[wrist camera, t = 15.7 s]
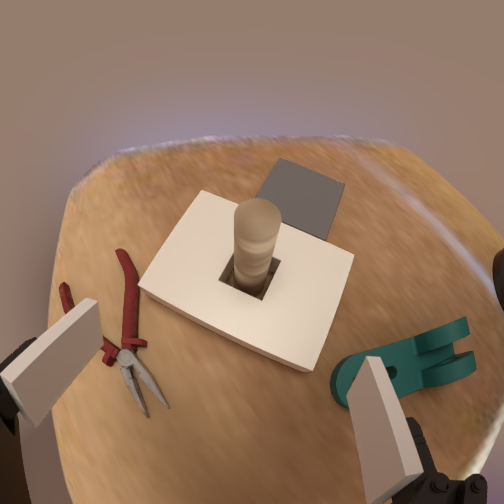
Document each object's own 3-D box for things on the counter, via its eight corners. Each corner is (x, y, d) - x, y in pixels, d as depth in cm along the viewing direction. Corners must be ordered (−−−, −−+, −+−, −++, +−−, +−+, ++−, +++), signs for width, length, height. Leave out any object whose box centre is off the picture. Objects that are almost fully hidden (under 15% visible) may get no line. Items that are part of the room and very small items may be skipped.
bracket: (438, 327, 31) (475, 312, 24) (447, 372, 28) (485, 364, 21) (325, 361, 29) (351, 353, 22) (334, 415, 26) (363, 423, 19)
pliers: (122, 430, 24) (114, 433, 22) (62, 290, 31) (53, 283, 29) (203, 390, 27) (201, 390, 25) (129, 251, 34) (122, 241, 32)
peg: (268, 277, 33) (288, 208, 21) (256, 302, 32) (270, 245, 19) (242, 265, 34) (246, 191, 21) (229, 289, 32) (225, 225, 20)
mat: (344, 186, 40) (344, 184, 40) (324, 242, 36) (325, 240, 35) (279, 159, 42) (279, 157, 42) (248, 209, 37) (249, 207, 37)
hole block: (343, 268, 34) (354, 254, 31) (303, 372, 28) (312, 370, 25) (204, 208, 37) (201, 189, 34) (148, 296, 31) (137, 284, 28)
